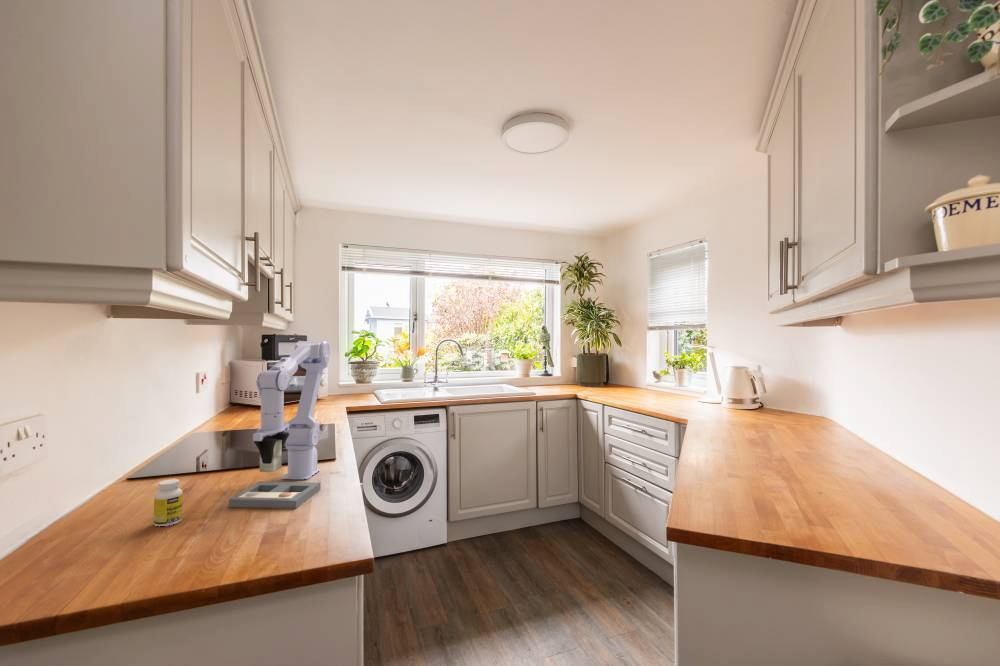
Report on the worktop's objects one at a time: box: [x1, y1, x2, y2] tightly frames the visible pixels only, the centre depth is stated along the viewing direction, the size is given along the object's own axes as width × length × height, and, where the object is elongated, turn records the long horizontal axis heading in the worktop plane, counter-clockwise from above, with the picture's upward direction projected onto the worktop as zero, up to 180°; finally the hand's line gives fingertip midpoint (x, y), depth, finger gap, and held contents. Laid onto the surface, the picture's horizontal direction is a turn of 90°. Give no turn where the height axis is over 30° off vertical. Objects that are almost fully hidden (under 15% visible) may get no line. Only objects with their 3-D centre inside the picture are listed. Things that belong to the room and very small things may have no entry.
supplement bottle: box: [153, 478, 184, 528], centre depth 104 cm, size 5×5×10 cm
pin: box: [259, 440, 283, 473], centre depth 123 cm, size 4×4×8 cm
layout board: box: [228, 481, 322, 509], centre depth 121 cm, size 14×18×2 cm
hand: (271, 460), depth 123 cm, fingers closed on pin, 4 cm apart
